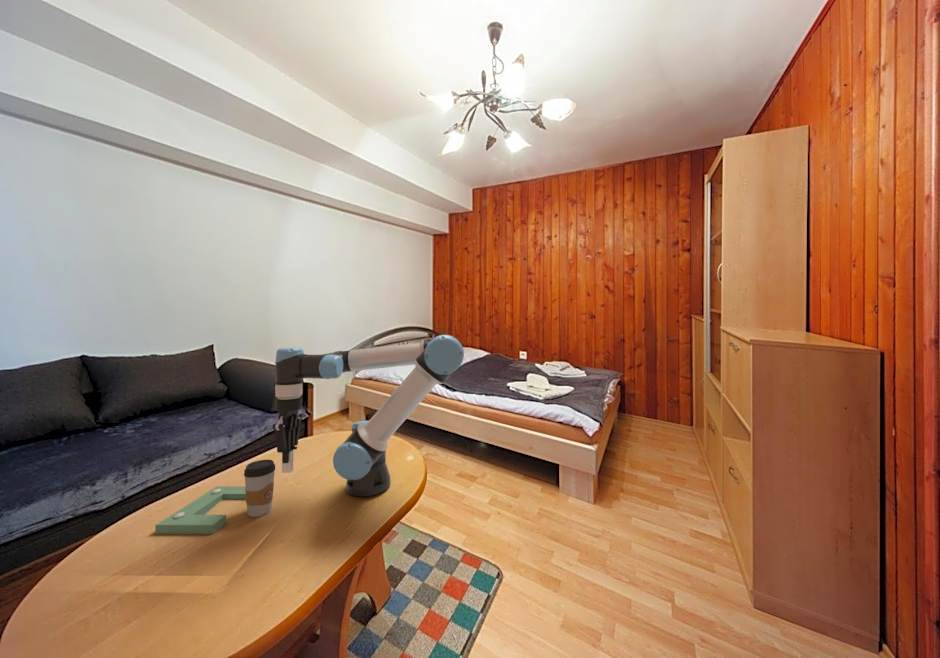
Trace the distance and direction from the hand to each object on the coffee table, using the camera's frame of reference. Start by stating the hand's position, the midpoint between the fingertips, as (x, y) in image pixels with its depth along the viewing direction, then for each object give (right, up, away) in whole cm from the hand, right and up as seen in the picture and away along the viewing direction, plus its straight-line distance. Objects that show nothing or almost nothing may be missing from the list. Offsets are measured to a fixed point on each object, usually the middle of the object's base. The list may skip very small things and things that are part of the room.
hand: (287, 471), depth 101 cm
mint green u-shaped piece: (-24, -13, 0) cm, 27 cm away
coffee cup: (-9, -13, 0) cm, 16 cm away
